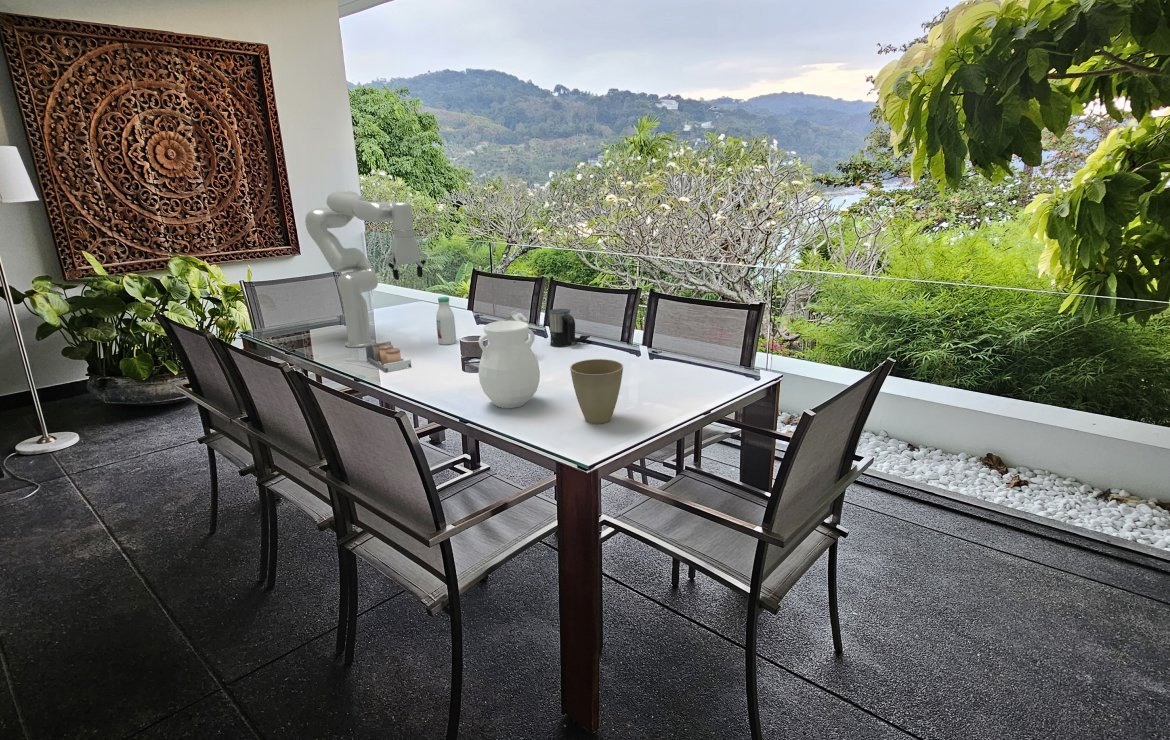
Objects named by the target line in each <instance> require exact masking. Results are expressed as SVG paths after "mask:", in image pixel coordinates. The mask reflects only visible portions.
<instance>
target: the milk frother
mask: <svg viewBox="0 0 1170 740" xmlns="http://www.w3.org/2000/svg"><path fill="white" fill-rule="evenodd" d="M548 313H549V332H550V343H549V344H550V346H551V347H554V348H555V347H556V348H562V347H569V346H572V344H573V343H577V342H579V341H580V342H582V343H583V342H585V341H587V339H590V337H591V335H583V334H582V335H580V336H579V337H578V338H576V321H575V318H574V317H573V316H572V315H571V309H569V308H553V309H549V310H548Z"/></svg>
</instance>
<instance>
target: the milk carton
mask: <svg viewBox="0 0 1170 740" xmlns="http://www.w3.org/2000/svg"><path fill="white" fill-rule="evenodd" d="M509 314H510V315H509V316H507V318H506V319H504V321H521V322H525V323H527V324H528V325H529V322H528V321H529V319H528V318H527V317H526V316H524V314H523V313H521V311H520V308H518V309H516V310H513V311H510V313H509ZM529 338H530V336H529V333H528V334H527V336H526V338H525V339H524V342H526V341H528V339H529Z"/></svg>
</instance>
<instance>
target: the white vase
mask: <svg viewBox="0 0 1170 740" xmlns="http://www.w3.org/2000/svg"><path fill="white" fill-rule="evenodd" d="M529 327H530V326H529V323H528V324H527V323H525V322H521V321H505V320H499V321H493V322H489V323H487V324H485V325H484V326H483V331H484V332H483V334H481V335H480V336H479V338H478V345H479V348H480V349H481V350H482V352H481V353H482V354H481V357H480V361H479V365H478V378H479V379H478V380H479V384H480V386H481V387H480V388H482V391H483V393H484V395H486V396H487V398H488V399H489V400H490V401H491V402H492V403H493V404H494V405H495V406H496V407H497V406H498V408H500V407H501V408H502V409H516V408H520V407H522V406H524V405H525V404H526V403H528V402H529V400H530V399H532V398H533V396H534V395H535V394H536V392H537V390H538V387H539V384H540V377H541V372H540V371H541V370H540V365H539V361H538V359H537V357H536V356H537V355H535V352H534V351H533V350H532V348H531V347H532V345H533V344H534V343H535V338H536V336H535V333H534V332H533V330H531V329H530V328H529ZM527 334H528V335H529V334H530V335H529V339H528V341H526V342H524V339H525V338H526V336H527ZM485 340H488V344H487V345H486V346H485V344H484V341H485ZM515 407H516V408H515Z"/></svg>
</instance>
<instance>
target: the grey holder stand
mask: <svg viewBox="0 0 1170 740" xmlns="http://www.w3.org/2000/svg"><path fill="white" fill-rule="evenodd" d="M365 354H366V362H367V363H369V362H370V363H369V364H371V365H372V364H373V365H372V366H375V367H376V368H377V367H378V369H379V370H381V371H382V370H383V371H382V372H384V373H389V371H390V372H394V371H393V370H395V371H399V370H398V369H400V370H403V369H402V368H406V369H408V368H407V367H411V368H412V360H411V359H410V358H409V359H404V358H401V361H398V362H393V363H387V364H384V365H382V364H381V362H379V361H378V362H377V361H375V360H374V355H373V347H372V345H370V346H365Z"/></svg>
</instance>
